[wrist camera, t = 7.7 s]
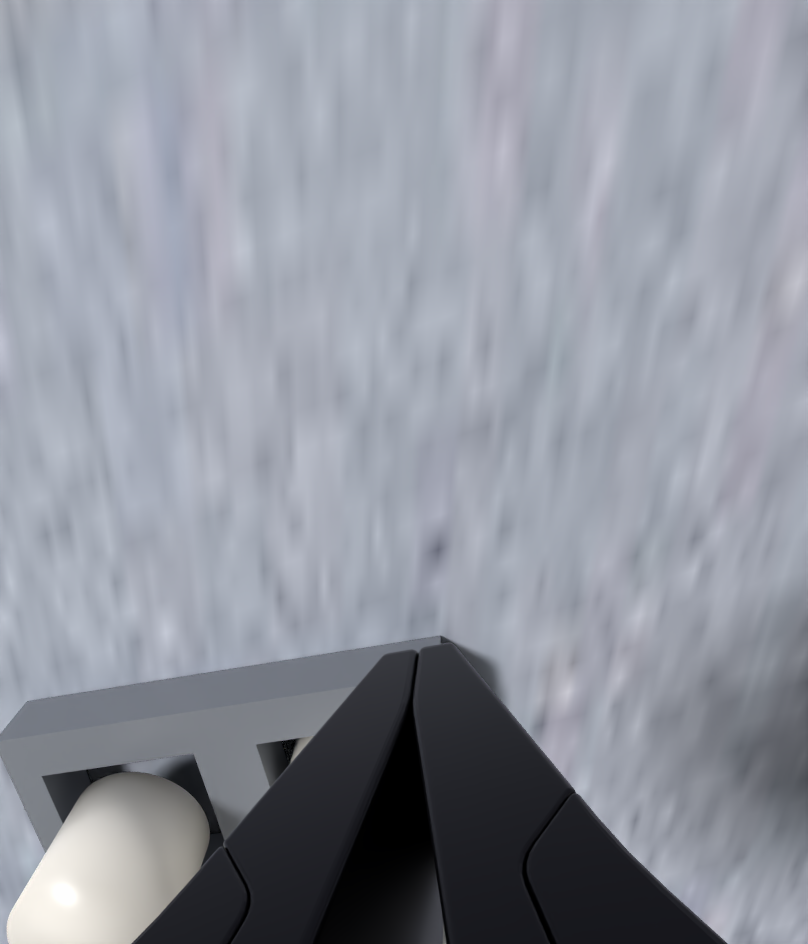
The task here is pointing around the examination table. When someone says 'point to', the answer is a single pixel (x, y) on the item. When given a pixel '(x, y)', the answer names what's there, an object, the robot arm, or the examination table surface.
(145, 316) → the examination table surface
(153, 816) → the button
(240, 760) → the button board
